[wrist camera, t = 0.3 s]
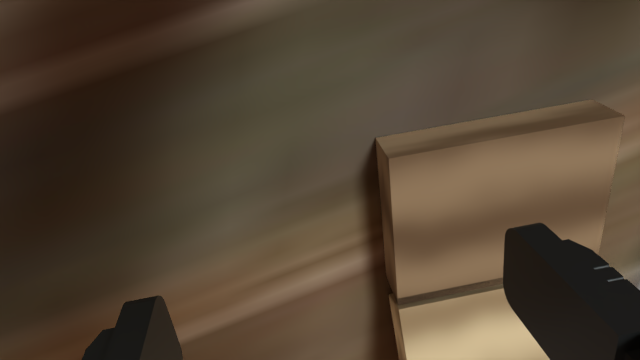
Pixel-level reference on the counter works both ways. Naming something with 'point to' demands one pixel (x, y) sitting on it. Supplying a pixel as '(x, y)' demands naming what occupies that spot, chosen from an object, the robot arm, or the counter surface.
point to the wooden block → (491, 192)
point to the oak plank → (463, 328)
